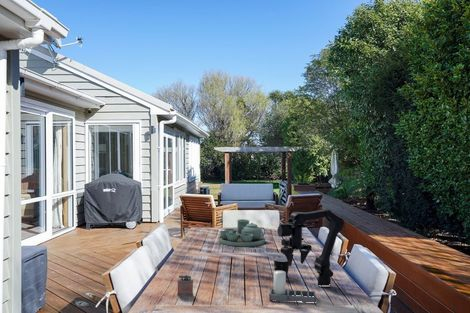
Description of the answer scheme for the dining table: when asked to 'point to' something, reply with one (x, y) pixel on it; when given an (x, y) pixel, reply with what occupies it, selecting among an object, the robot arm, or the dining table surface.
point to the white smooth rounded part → (279, 283)
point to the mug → (281, 265)
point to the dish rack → (289, 296)
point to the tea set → (242, 235)
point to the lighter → (185, 285)
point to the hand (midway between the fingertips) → (296, 264)
